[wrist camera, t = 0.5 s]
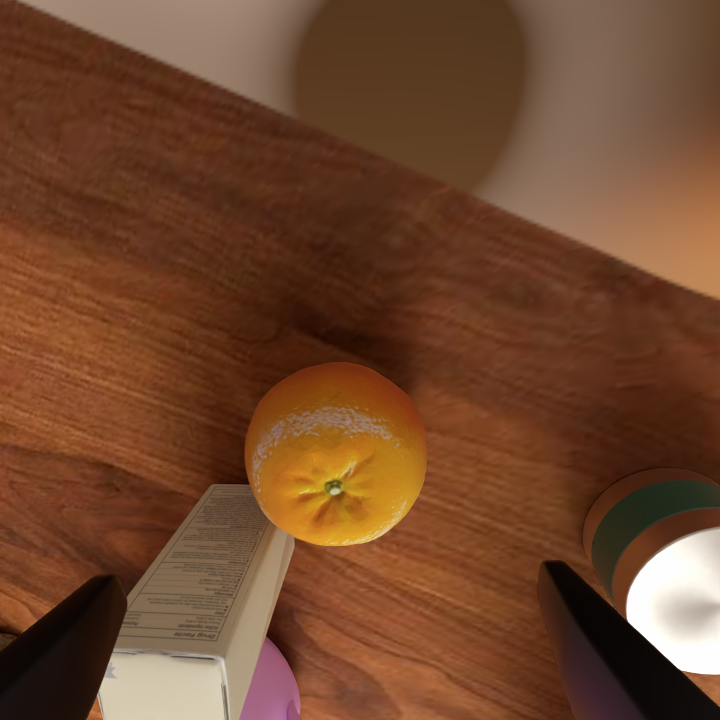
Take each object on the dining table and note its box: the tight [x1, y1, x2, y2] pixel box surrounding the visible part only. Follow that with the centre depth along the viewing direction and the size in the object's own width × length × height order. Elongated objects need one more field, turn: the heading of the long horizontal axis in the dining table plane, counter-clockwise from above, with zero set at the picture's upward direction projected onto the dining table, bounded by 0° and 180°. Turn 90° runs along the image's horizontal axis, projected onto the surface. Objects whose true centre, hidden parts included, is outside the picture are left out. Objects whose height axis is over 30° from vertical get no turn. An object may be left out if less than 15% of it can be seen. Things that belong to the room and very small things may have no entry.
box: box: [97, 484, 295, 720], centre depth 21 cm, size 5×4×11 cm
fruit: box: [245, 362, 427, 546], centre depth 21 cm, size 8×8×8 cm
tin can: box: [583, 468, 720, 675], centre depth 22 cm, size 8×8×5 cm
